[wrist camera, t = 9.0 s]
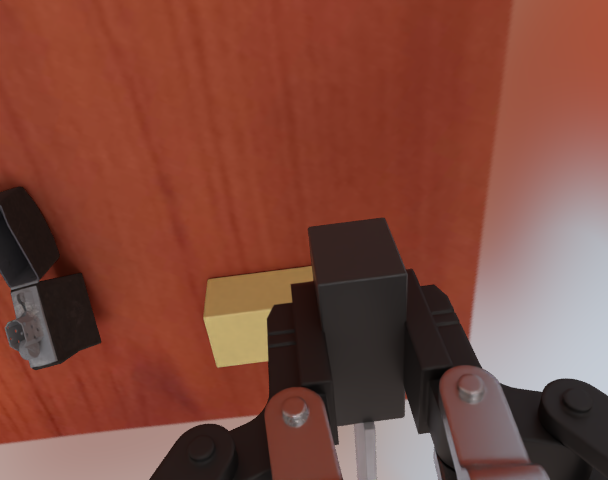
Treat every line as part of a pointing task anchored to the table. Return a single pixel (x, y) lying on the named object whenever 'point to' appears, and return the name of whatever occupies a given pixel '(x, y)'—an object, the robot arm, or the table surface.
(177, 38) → the table surface
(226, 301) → the butter
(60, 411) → the table surface
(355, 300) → the knife
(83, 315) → the lighter
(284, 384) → the robot arm
